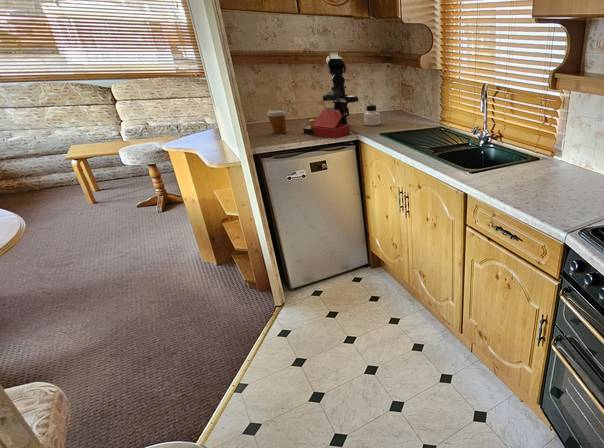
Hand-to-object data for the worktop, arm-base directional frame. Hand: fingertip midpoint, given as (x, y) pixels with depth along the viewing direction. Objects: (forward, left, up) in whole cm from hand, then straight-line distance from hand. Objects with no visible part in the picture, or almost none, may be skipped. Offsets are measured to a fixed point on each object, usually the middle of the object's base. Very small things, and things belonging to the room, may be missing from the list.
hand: (342, 115), depth 216 cm
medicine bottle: (-38, -8, -13) cm, 41 cm away
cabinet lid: (-3, -12, -4) cm, 13 cm away
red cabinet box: (-4, -12, -12) cm, 18 cm away
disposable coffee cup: (+4, -42, -13) cm, 44 cm away
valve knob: (-5, -25, -9) cm, 27 cm away
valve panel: (-5, -25, -12) cm, 28 cm away
